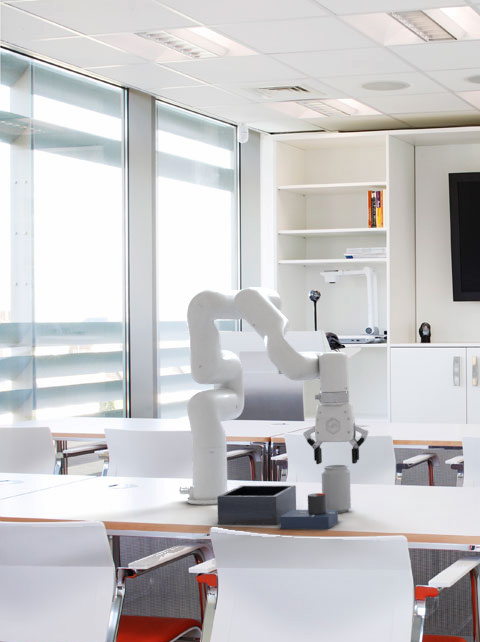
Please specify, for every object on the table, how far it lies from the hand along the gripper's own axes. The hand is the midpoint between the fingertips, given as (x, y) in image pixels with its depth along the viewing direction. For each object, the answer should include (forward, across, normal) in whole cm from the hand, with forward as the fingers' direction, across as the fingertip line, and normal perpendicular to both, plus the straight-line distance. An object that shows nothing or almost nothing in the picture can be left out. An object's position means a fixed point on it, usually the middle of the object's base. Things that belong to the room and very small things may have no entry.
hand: (336, 463), depth 262 cm
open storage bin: (+12, -18, -10) cm, 24 cm away
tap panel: (+13, -3, -19) cm, 23 cm away
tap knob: (+10, -1, -19) cm, 21 cm away
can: (+13, -1, 0) cm, 13 cm away
